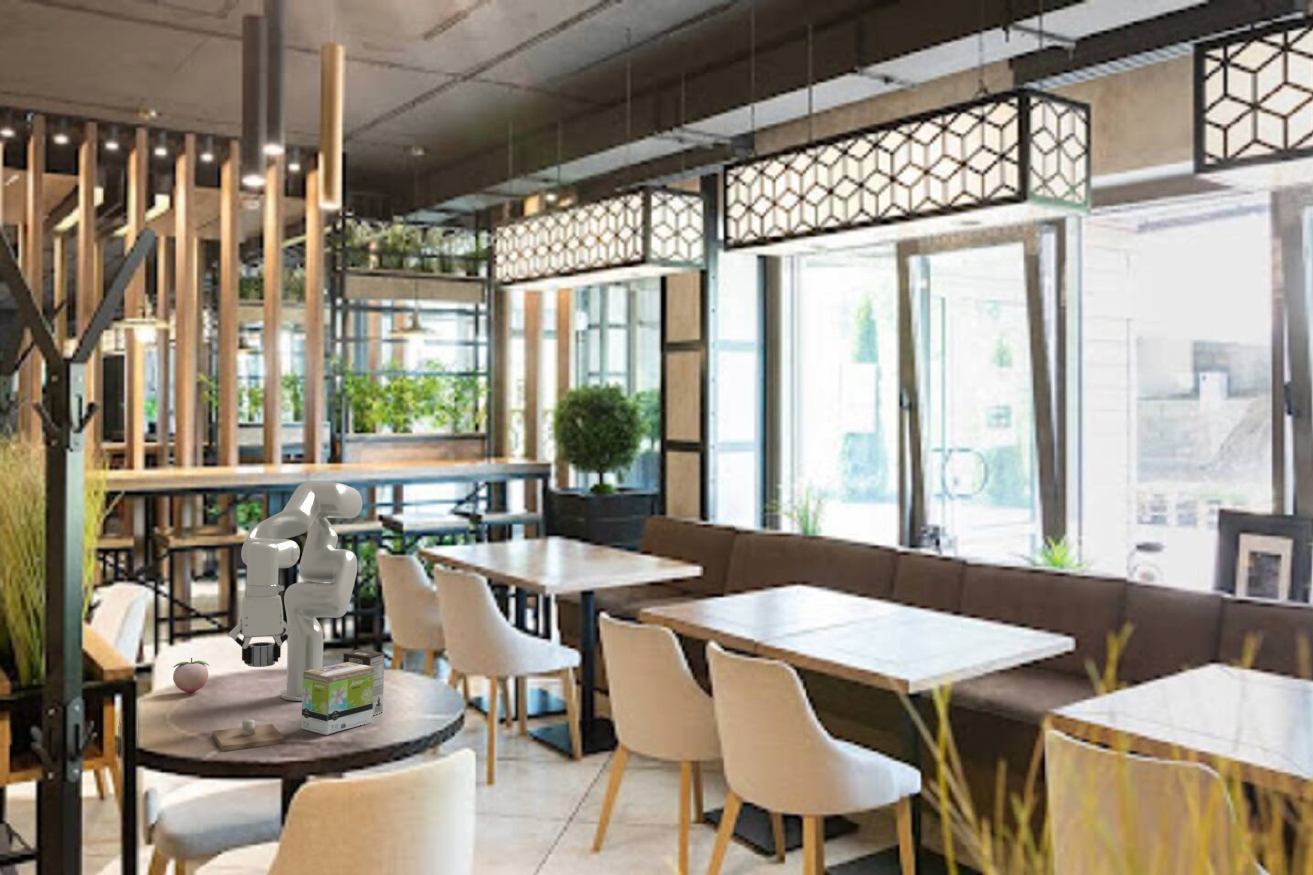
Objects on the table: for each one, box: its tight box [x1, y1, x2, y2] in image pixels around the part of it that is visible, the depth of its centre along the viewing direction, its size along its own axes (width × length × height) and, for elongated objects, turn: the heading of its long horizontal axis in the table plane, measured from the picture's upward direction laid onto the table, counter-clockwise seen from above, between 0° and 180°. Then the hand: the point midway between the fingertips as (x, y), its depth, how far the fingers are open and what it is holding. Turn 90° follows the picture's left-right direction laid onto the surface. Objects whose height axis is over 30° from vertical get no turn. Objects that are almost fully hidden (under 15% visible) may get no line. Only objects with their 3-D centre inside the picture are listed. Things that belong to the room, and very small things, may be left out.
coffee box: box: [342, 648, 385, 716], centre depth 293 cm, size 9×6×16 cm
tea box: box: [300, 662, 374, 736], centre depth 281 cm, size 15×10×15 cm
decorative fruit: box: [172, 657, 210, 695], centre depth 309 cm, size 9×8×10 cm
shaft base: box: [211, 719, 286, 752], centre depth 268 cm, size 14×14×4 cm
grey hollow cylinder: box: [247, 641, 276, 668], centre depth 281 cm, size 6×6×5 cm
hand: (261, 661), depth 281 cm, fingers closed on grey hollow cylinder, 6 cm apart
